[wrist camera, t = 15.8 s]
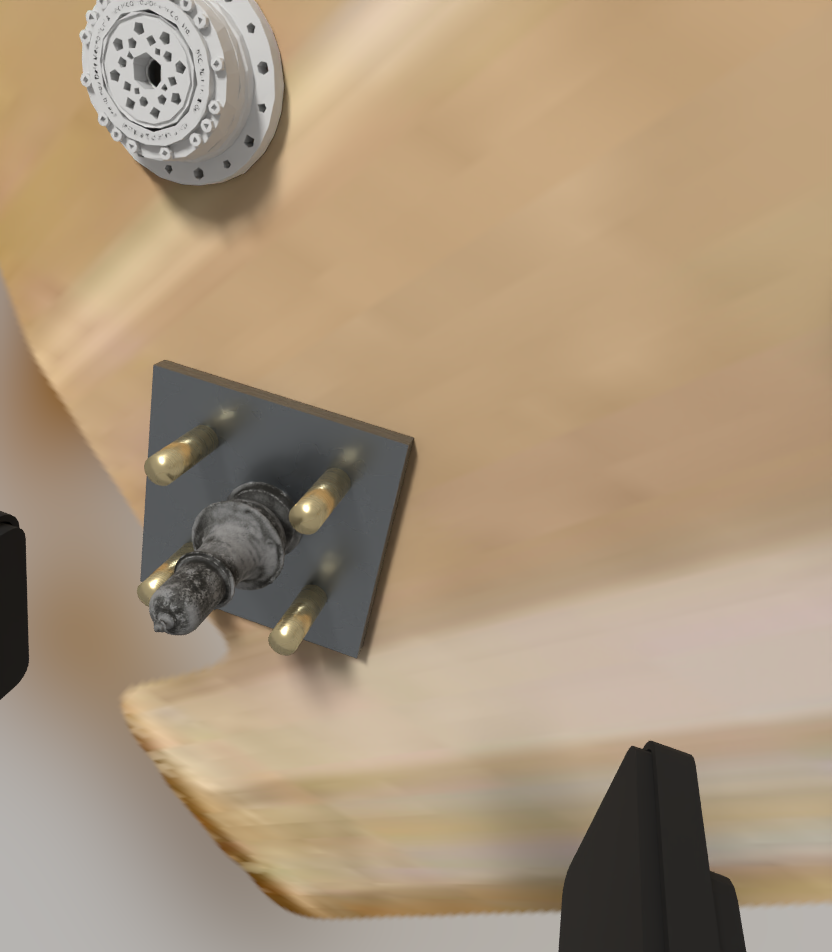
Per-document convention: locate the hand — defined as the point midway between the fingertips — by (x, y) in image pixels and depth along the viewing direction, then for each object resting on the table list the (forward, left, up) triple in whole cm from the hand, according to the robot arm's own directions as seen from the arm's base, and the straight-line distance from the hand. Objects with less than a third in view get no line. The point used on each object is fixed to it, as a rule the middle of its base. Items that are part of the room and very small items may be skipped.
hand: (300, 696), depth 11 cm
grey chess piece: (+12, +17, -29) cm, 36 cm away
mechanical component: (+20, -6, -31) cm, 37 cm away
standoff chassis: (+12, +17, -30) cm, 37 cm away
